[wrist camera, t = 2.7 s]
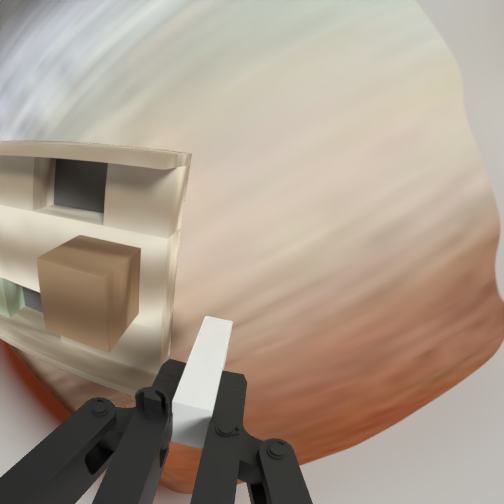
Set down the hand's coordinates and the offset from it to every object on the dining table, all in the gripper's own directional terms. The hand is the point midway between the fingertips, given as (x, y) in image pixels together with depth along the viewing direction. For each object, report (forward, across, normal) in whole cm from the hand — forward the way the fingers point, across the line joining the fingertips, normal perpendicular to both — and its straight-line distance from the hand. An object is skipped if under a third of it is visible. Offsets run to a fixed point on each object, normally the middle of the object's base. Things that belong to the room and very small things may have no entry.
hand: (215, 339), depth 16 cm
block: (+4, -9, 0) cm, 9 cm away
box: (+7, -16, 0) cm, 17 cm away
